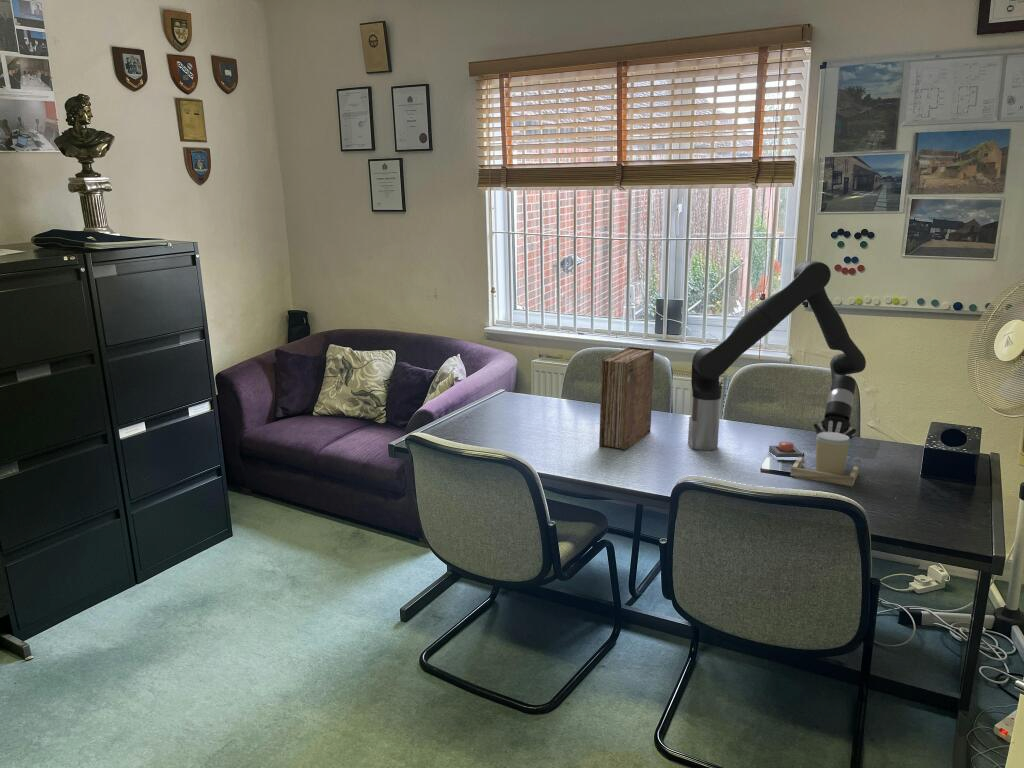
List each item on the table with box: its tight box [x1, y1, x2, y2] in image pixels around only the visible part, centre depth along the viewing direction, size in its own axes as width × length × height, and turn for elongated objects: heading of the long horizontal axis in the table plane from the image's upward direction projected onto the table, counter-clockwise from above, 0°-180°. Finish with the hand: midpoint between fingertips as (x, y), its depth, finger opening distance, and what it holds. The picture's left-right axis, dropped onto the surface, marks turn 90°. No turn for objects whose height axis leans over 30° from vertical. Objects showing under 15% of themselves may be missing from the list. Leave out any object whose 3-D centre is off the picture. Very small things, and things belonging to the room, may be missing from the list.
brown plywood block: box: [598, 346, 655, 452], centre depth 259 cm, size 25×9×30 cm, turn 151°
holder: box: [790, 457, 859, 487], centre depth 228 cm, size 12×17×2 cm
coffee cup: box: [815, 431, 851, 475], centre depth 228 cm, size 9×9×12 cm
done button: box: [778, 441, 795, 452], centre depth 244 cm, size 4×4×3 cm
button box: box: [768, 445, 804, 458], centre depth 245 cm, size 8×8×2 cm
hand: (829, 454), depth 233 cm, fingers closed
